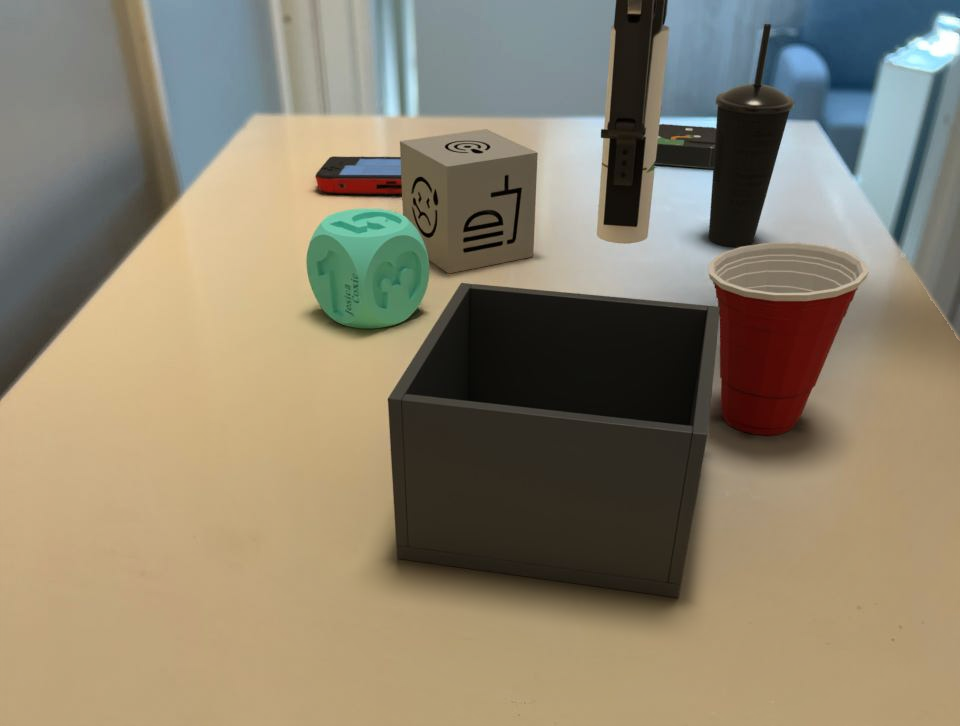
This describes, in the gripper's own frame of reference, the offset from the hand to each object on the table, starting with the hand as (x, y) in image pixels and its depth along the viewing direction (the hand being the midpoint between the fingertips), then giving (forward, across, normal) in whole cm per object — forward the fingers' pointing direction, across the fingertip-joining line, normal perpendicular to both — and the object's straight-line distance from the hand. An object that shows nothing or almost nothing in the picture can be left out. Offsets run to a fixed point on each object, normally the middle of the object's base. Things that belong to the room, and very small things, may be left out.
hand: (624, 214), depth 82 cm
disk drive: (+10, -58, +2) cm, 59 cm away
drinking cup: (+10, -27, +10) cm, 30 cm away
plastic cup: (+10, +14, +13) cm, 21 cm away
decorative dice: (+10, +1, -22) cm, 25 cm away
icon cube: (+10, -17, -17) cm, 26 cm away
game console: (+10, -38, -33) cm, 52 cm away
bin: (+10, +29, 0) cm, 31 cm away
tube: (+2, 0, 0) cm, 2 cm away
